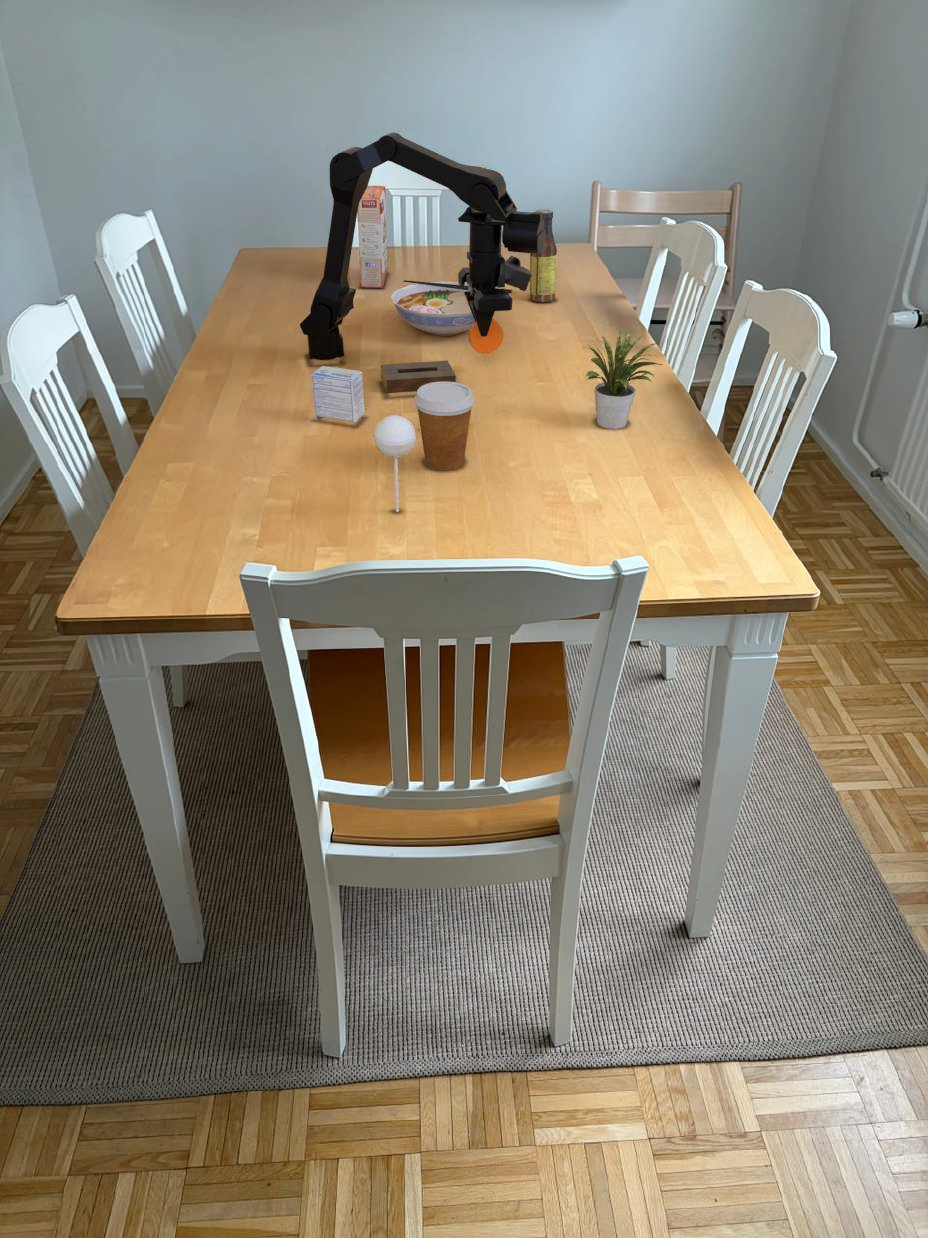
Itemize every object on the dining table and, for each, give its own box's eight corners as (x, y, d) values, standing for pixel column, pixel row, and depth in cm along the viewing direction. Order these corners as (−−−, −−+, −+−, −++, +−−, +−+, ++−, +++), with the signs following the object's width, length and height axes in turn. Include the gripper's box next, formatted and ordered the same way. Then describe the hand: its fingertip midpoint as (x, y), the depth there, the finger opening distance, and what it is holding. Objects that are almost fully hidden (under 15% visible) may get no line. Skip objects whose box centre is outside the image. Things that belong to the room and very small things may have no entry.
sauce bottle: (559, 298, 227) (565, 209, 216) (547, 305, 223) (552, 215, 211) (535, 293, 230) (540, 206, 218) (523, 300, 226) (527, 211, 214)
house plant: (595, 448, 160) (605, 353, 151) (552, 417, 170) (558, 327, 160) (664, 432, 165) (677, 340, 156) (618, 404, 175) (628, 315, 166)
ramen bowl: (369, 339, 203) (367, 300, 198) (413, 308, 220) (413, 272, 215) (478, 355, 195) (479, 316, 190) (515, 322, 212) (517, 285, 208)
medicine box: (365, 417, 169) (363, 370, 164) (355, 427, 166) (352, 379, 161) (325, 411, 171) (321, 364, 166) (314, 420, 168) (310, 373, 163)
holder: (387, 398, 177) (386, 380, 175) (381, 382, 183) (380, 364, 181) (455, 393, 179) (455, 375, 177) (447, 377, 185) (447, 360, 183)
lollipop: (377, 501, 144) (373, 408, 135) (416, 500, 144) (414, 407, 136) (377, 522, 139) (373, 426, 130) (418, 520, 139) (416, 425, 131)
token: (467, 351, 180) (473, 317, 177) (465, 349, 181) (472, 315, 178) (499, 355, 182) (506, 321, 179) (498, 353, 183) (505, 319, 179)
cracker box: (384, 288, 232) (381, 196, 220) (359, 288, 232) (355, 196, 220) (389, 272, 243) (386, 184, 231) (365, 272, 243) (361, 184, 231)
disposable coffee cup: (453, 480, 150) (453, 408, 143) (403, 465, 154) (401, 394, 147) (484, 458, 156) (486, 388, 150) (436, 444, 161) (435, 375, 154)
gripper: (542, 260, 165) (537, 349, 174) (515, 234, 179) (512, 316, 188) (479, 263, 163) (477, 352, 172) (457, 236, 177) (457, 319, 187)
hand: (483, 334), depth 180 cm, fingers closed on token, 1 cm apart
